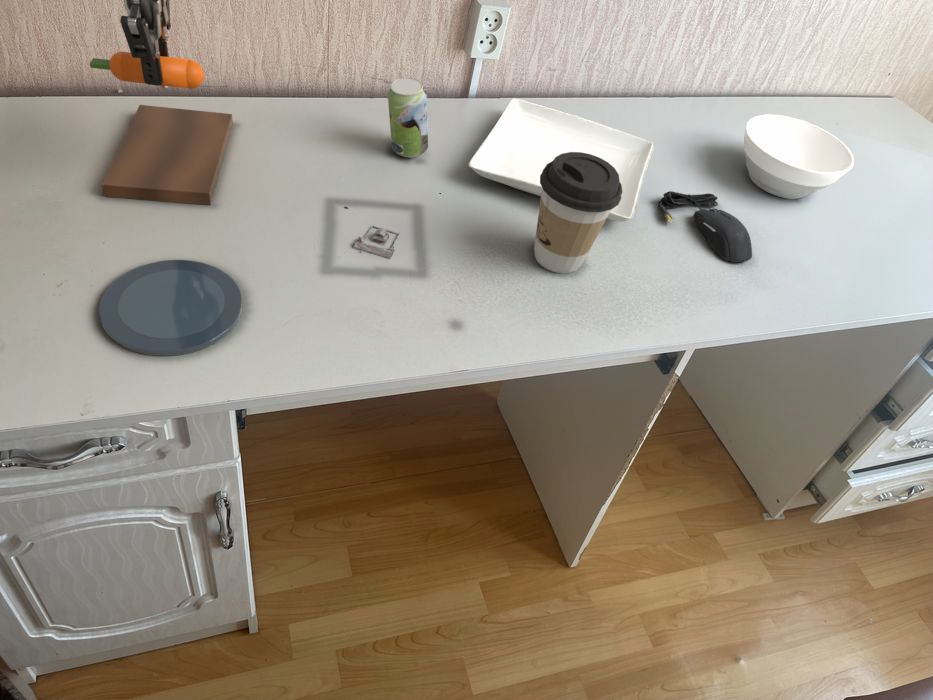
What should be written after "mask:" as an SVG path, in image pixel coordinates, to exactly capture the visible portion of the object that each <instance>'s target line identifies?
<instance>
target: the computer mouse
mask: <svg viewBox="0 0 933 700" xmlns="http://www.w3.org/2000/svg"><path fill="white" fill-rule="evenodd" d="M717 200H718V196H716V195H715V194H713V193H701V194H687V193H686V194H685V193H681V192H677V191H673V190H672V191H671V190H669V191H667V192H664V193H663V196H662V197H661V198H660V200H658V204H657V208H658V210H659V212H660V213H661V215H662V216H663V218H664V219H665V220H666V221H668V222H669V224H673V223H674V221H673V217H672V215H671V214H670V213H669V211H668V210H672V209H676V208H682V207H685V206H690V207H691V206H696V207H697V208H698V210H695V211H694V213H693V216H692V217H693V221H694V224H695V225H696V227H697V228H698V229H699V230H700V231H701V232H702V234H703V235H704V237H705V238H706V240H707V242H708V244H709V246H710V247H711V249H712V250H713V252H714V253H715V254H716V255H718V256H719V258H722V259H723V260H725V261H728V262H732V263H743V262H747V261H749V260H751V259H752V258H753V247H752V240H751V236H750V234H749V231H748V229H747V228H746V226H745V225H744V224H743V222H742V221H740V219H738V218H737V217H736V216H734V215H732V214H731V213H729V212H726V211H724V210H722V209H718V208H713V207H717V206H719V202H717ZM702 207H709V208H708V209H706V208H702ZM711 207H712V208H711ZM667 209H668V210H667Z"/></svg>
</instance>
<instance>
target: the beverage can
mask: <svg viewBox="0 0 933 700" xmlns="http://www.w3.org/2000/svg"><path fill="white" fill-rule="evenodd" d="M427 95H428V94H427V90H426V89H425V88H424V86H423V83H422V82H421V81H420V80H418V79H416V78H412V77H402V78H397V79H395V80H394V81H393V82H391V84H390V88H389V90H388V93H387V103H388V104H387V105H388V117H389V129H390V140H391V141H390V142H391V143H390V144H391V150H392V151H393V152H394V153H395V154H397V155H399V156H401V157H403V158H409V159H411V158H416V157H419V156H421V155H422V154H424V153H425V152H426V151H427V150H428V148H429V130H428V128H429V127H428V125H429V124H428V98H427V97H428V96H427Z"/></svg>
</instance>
